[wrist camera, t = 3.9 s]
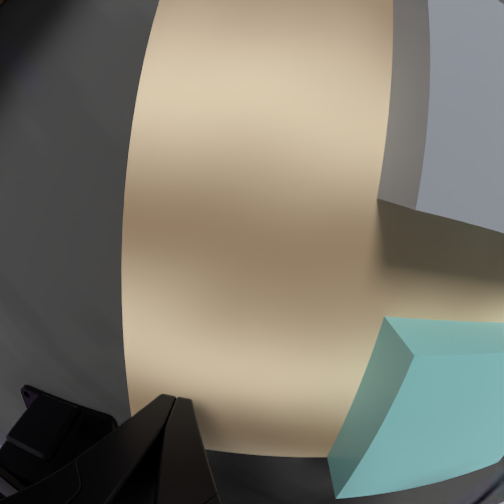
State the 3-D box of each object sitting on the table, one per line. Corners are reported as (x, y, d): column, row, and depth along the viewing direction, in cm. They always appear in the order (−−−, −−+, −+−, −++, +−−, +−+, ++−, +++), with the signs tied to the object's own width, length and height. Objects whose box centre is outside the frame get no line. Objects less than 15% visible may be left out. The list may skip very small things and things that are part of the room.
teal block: (480, 435, 10) (497, 462, 8) (326, 457, 9) (335, 498, 7) (540, 322, 8) (570, 344, 6) (384, 316, 8) (414, 355, 6)
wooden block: (481, 385, 13) (514, 424, 10) (160, 372, 13) (134, 434, 9) (547, 131, 10) (599, 132, 6) (196, 17, 9) (172, -39, 5)
